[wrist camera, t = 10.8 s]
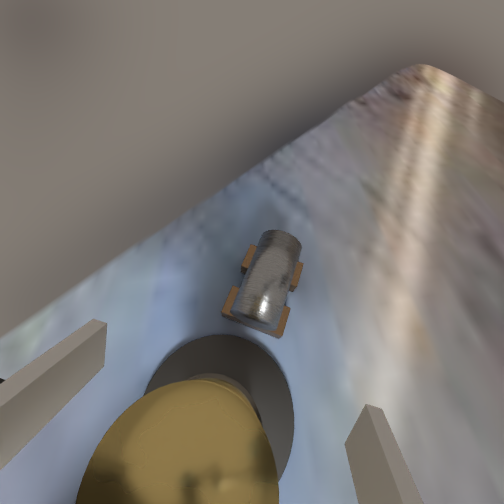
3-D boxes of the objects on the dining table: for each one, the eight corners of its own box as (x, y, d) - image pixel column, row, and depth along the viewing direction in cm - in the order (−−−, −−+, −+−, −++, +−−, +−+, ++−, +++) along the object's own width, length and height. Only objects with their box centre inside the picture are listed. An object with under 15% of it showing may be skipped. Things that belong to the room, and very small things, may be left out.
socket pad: (322, 414, 17) (324, 415, 17) (207, 580, 13) (206, 586, 13) (224, 308, 21) (224, 306, 20) (105, 415, 16) (103, 416, 16)
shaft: (278, 339, 20) (292, 329, 15) (221, 316, 20) (218, 300, 16) (299, 269, 23) (316, 243, 18) (249, 250, 23) (254, 221, 19)
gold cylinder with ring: (269, 416, 17) (329, 491, 6) (210, 489, 15) (146, 790, 4) (219, 357, 18) (197, 334, 8) (160, 416, 16) (21, 496, 6)
